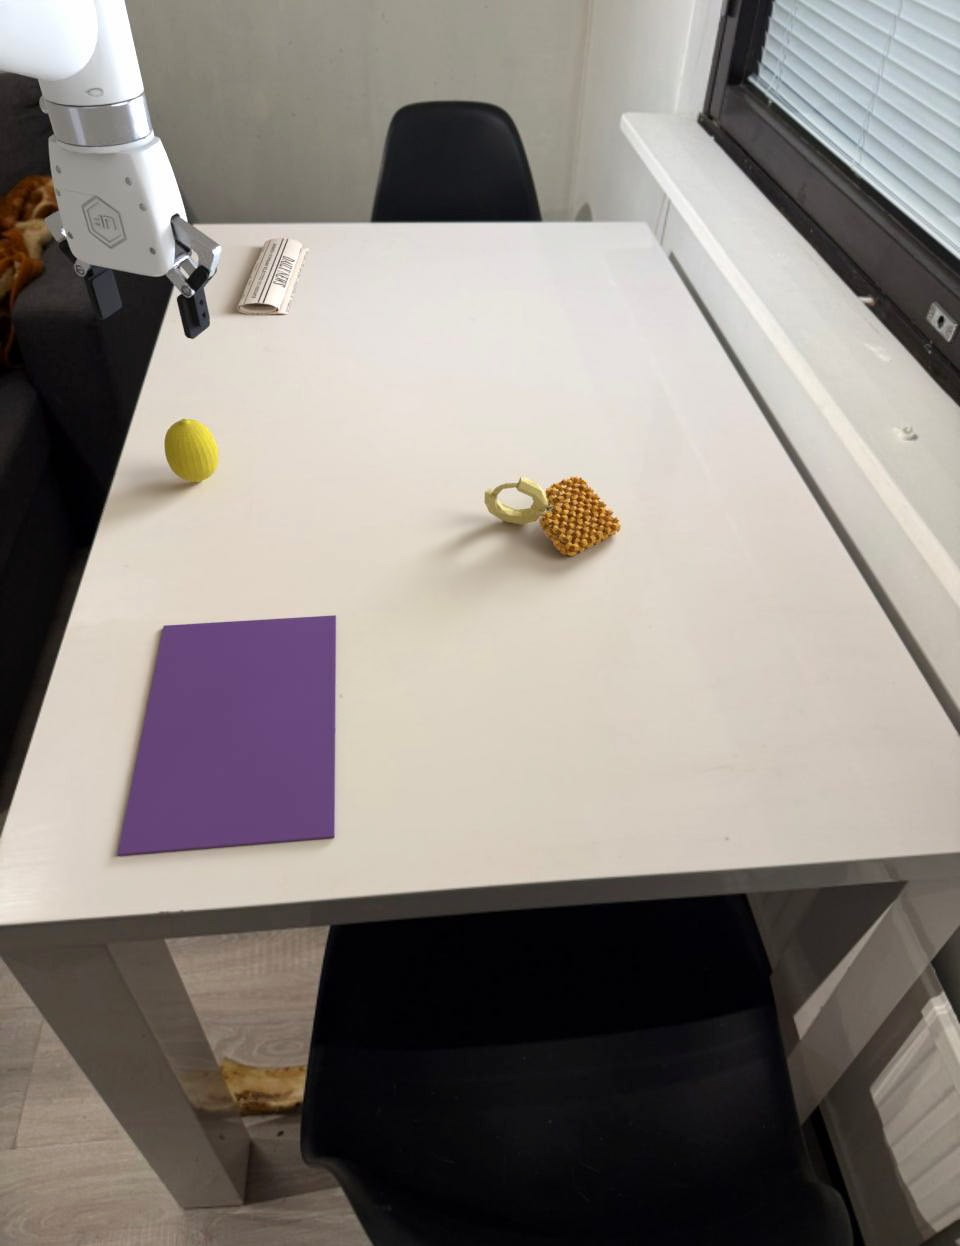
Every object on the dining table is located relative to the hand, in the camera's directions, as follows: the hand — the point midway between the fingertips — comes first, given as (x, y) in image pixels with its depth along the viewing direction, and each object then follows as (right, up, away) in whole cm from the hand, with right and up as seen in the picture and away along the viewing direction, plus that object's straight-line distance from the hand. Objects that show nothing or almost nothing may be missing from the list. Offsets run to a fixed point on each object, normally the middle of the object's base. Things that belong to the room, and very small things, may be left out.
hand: (153, 322), depth 81 cm
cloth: (+10, -37, -8) cm, 39 cm away
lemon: (-1, -12, +16) cm, 21 cm away
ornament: (+38, -18, +12) cm, 44 cm away
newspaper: (-1, +25, +53) cm, 59 cm away
